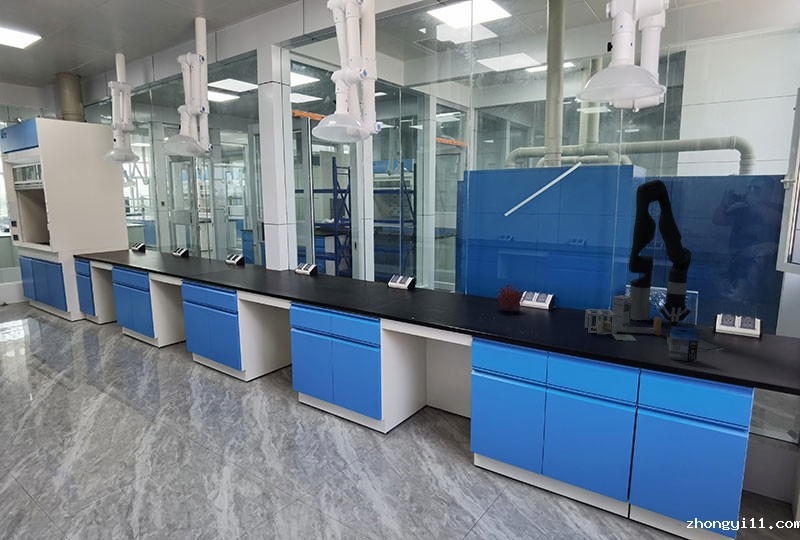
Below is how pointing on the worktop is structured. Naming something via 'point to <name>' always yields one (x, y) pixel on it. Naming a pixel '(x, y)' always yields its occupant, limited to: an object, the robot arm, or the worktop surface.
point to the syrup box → (622, 310)
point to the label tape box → (683, 344)
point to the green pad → (624, 337)
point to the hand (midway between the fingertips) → (672, 329)
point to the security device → (702, 345)
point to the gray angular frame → (599, 313)
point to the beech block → (604, 325)
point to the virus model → (510, 298)
